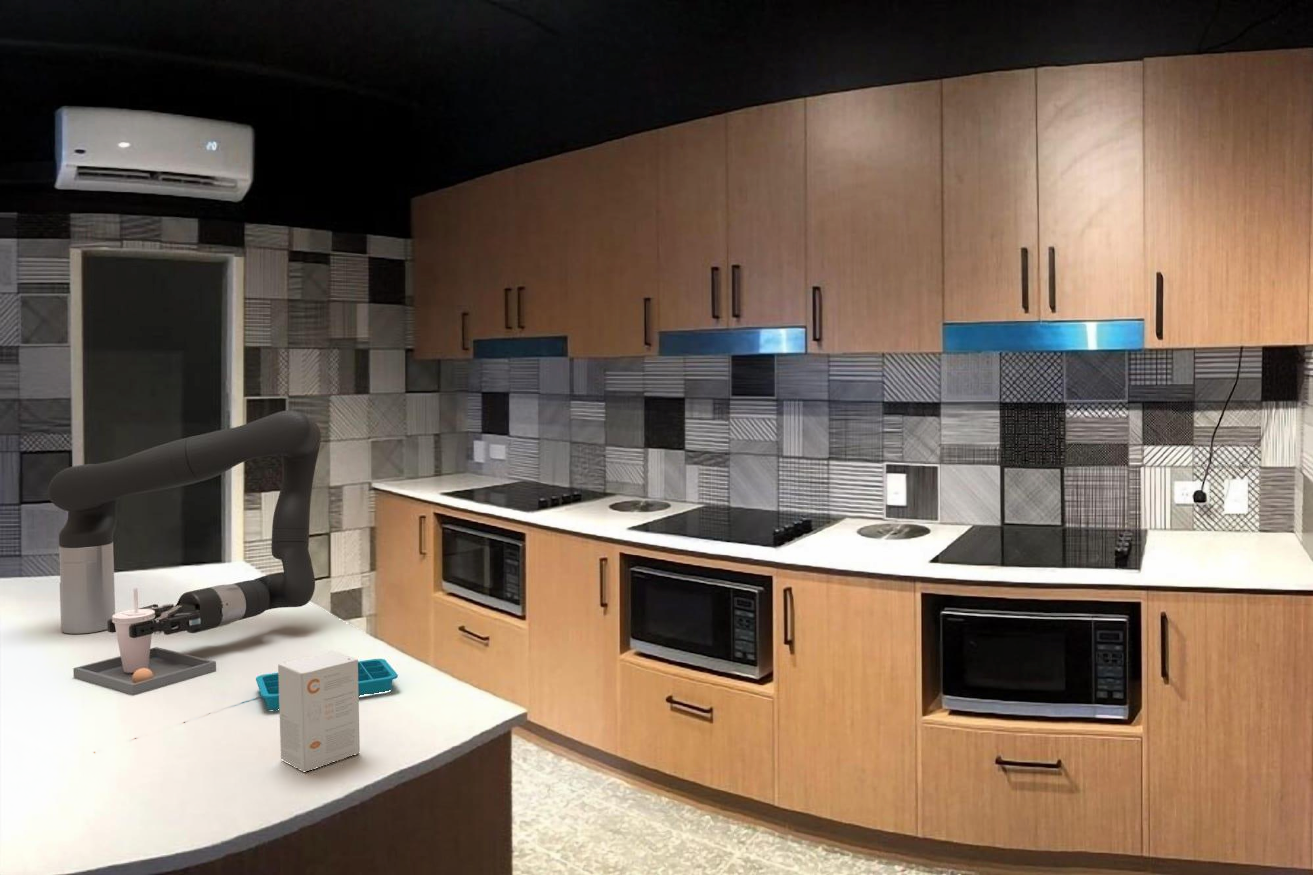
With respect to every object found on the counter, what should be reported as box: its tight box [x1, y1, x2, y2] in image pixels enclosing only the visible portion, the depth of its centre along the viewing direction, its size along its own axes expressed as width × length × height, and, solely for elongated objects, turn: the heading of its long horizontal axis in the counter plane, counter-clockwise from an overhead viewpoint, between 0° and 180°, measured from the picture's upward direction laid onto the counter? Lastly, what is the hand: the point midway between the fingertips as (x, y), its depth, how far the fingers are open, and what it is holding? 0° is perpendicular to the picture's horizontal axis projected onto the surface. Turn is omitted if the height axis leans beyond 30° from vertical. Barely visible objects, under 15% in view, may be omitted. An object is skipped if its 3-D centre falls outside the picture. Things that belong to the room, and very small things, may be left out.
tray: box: [72, 646, 217, 696], centre depth 152 cm, size 17×14×2 cm
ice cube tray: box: [255, 658, 399, 711], centre depth 144 cm, size 12×20×3 cm, turn 119°
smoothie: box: [112, 587, 155, 673], centre depth 153 cm, size 6×6×14 cm
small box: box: [277, 650, 361, 772], centre depth 118 cm, size 8×6×13 cm
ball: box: [132, 668, 153, 683], centre depth 145 cm, size 3×3×3 cm
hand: (119, 629), depth 151 cm, fingers closed on smoothie, 5 cm apart
